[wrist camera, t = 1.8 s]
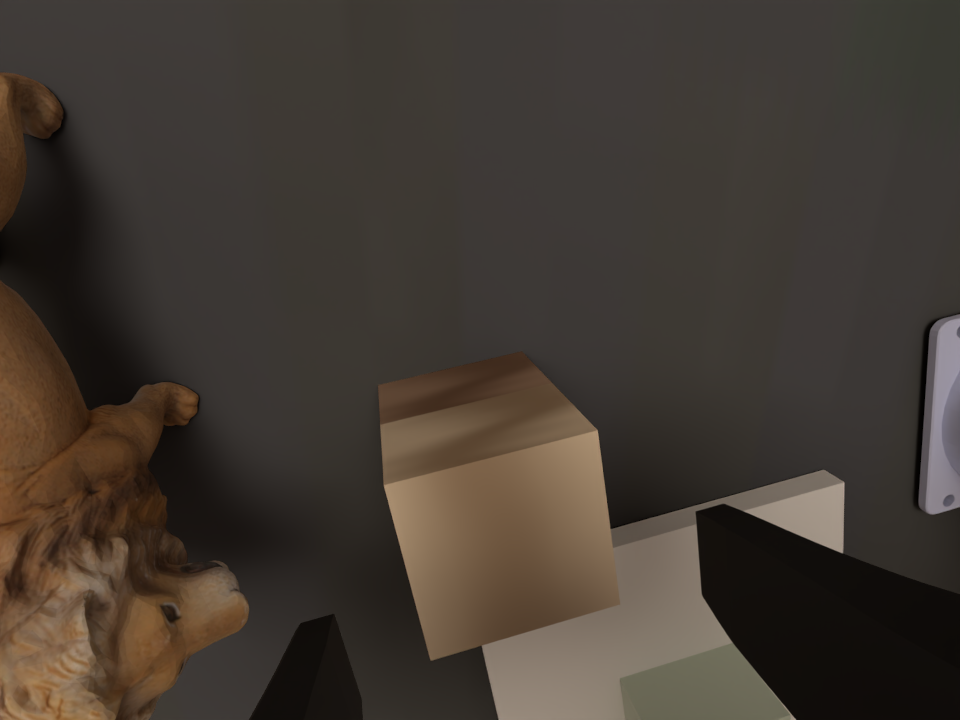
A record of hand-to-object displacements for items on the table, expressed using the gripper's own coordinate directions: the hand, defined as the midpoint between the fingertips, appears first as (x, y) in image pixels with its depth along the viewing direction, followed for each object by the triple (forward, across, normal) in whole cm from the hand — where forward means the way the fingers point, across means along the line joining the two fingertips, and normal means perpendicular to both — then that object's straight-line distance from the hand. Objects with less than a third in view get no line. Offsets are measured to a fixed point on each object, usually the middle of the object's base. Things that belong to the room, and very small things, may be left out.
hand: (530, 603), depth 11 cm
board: (+8, -6, +13) cm, 16 cm away
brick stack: (+8, 0, 0) cm, 8 cm away
